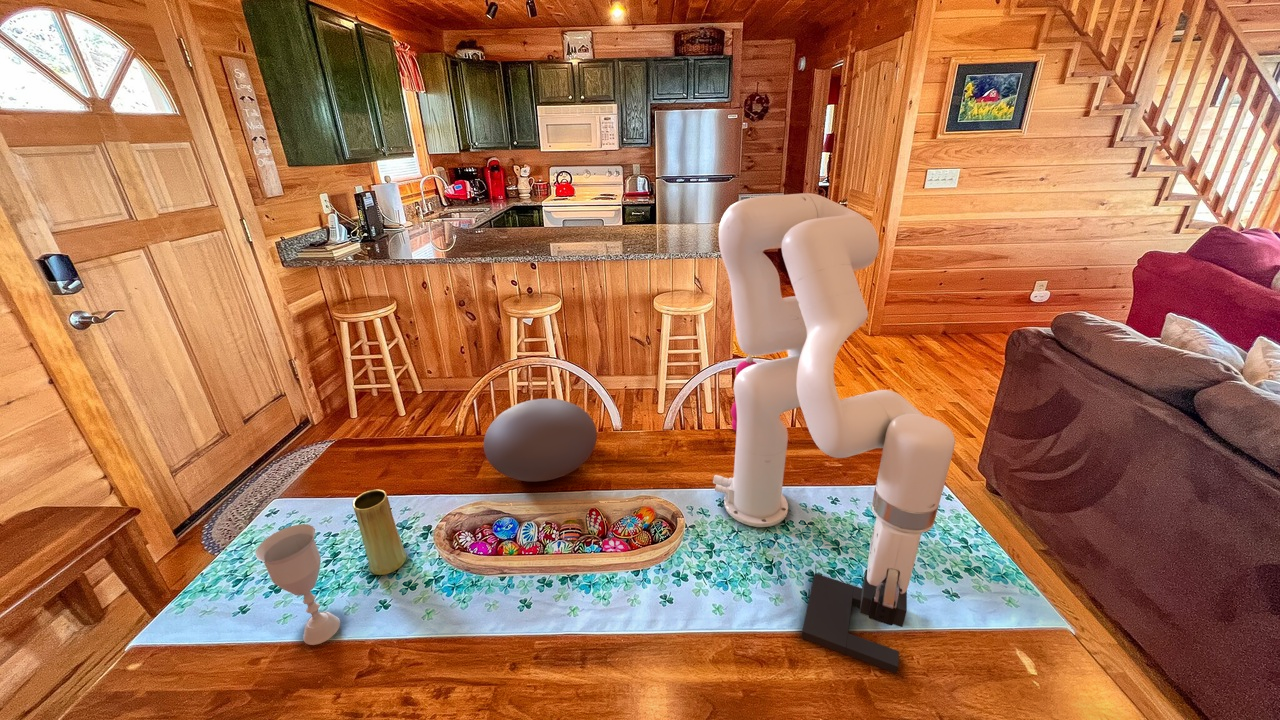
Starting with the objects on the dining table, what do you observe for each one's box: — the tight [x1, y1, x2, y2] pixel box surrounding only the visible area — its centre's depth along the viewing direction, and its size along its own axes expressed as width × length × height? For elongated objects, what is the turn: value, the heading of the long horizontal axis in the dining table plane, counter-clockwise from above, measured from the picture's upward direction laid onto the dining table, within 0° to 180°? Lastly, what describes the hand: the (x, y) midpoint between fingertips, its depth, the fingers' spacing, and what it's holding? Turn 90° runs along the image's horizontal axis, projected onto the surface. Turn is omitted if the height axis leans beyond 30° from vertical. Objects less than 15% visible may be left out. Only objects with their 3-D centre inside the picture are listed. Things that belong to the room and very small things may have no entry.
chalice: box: [254, 523, 341, 646], centre depth 75 cm, size 7×7×18 cm
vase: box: [352, 489, 408, 576], centre depth 88 cm, size 6×6×14 cm
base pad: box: [800, 572, 900, 675], centre depth 78 cm, size 13×12×2 cm
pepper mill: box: [730, 355, 758, 432], centre depth 125 cm, size 7×7×20 cm
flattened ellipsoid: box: [483, 398, 598, 483], centre depth 114 cm, size 25×25×15 cm
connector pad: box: [859, 569, 908, 628], centre depth 74 cm, size 6×6×3 cm
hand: (881, 602), depth 74 cm, fingers closed on connector pad, 5 cm apart
